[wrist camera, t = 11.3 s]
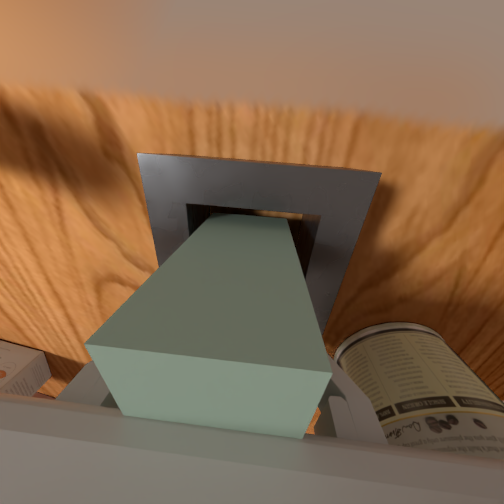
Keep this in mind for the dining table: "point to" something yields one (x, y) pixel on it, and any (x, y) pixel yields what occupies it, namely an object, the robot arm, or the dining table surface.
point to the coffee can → (423, 390)
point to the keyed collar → (263, 208)
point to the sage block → (220, 334)
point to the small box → (22, 369)
